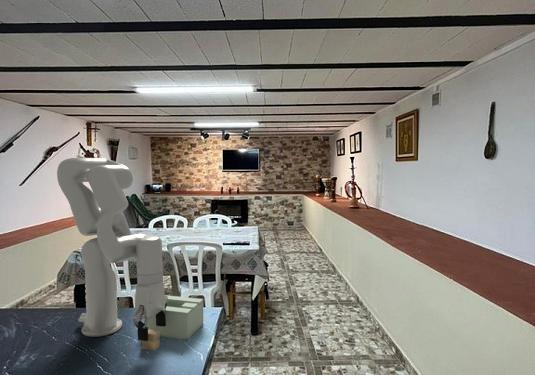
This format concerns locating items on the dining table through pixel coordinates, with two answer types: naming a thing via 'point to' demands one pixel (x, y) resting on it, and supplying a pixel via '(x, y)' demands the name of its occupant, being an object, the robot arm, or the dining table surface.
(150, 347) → the block
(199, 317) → the box
